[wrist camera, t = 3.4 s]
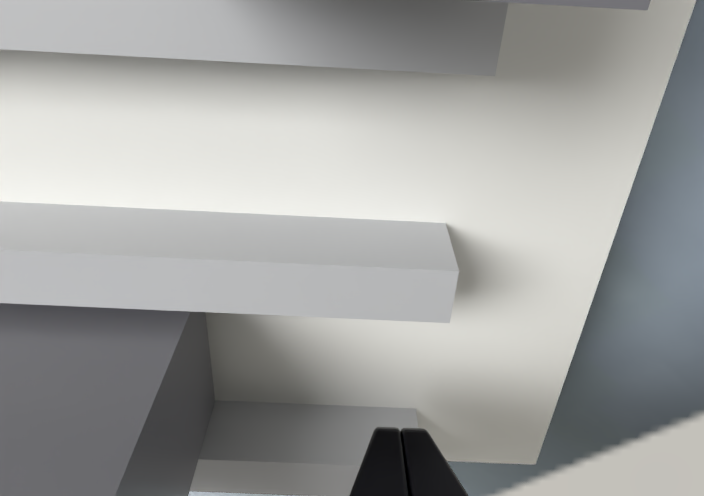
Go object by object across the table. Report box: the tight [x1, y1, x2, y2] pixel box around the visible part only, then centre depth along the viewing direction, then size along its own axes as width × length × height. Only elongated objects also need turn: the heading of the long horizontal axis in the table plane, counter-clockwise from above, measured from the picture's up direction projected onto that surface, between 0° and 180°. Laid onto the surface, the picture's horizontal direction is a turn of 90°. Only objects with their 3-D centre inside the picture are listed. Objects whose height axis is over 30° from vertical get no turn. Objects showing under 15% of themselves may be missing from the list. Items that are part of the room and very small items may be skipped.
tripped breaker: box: [0, 303, 215, 496], centre depth 8 cm, size 4×3×5 cm
